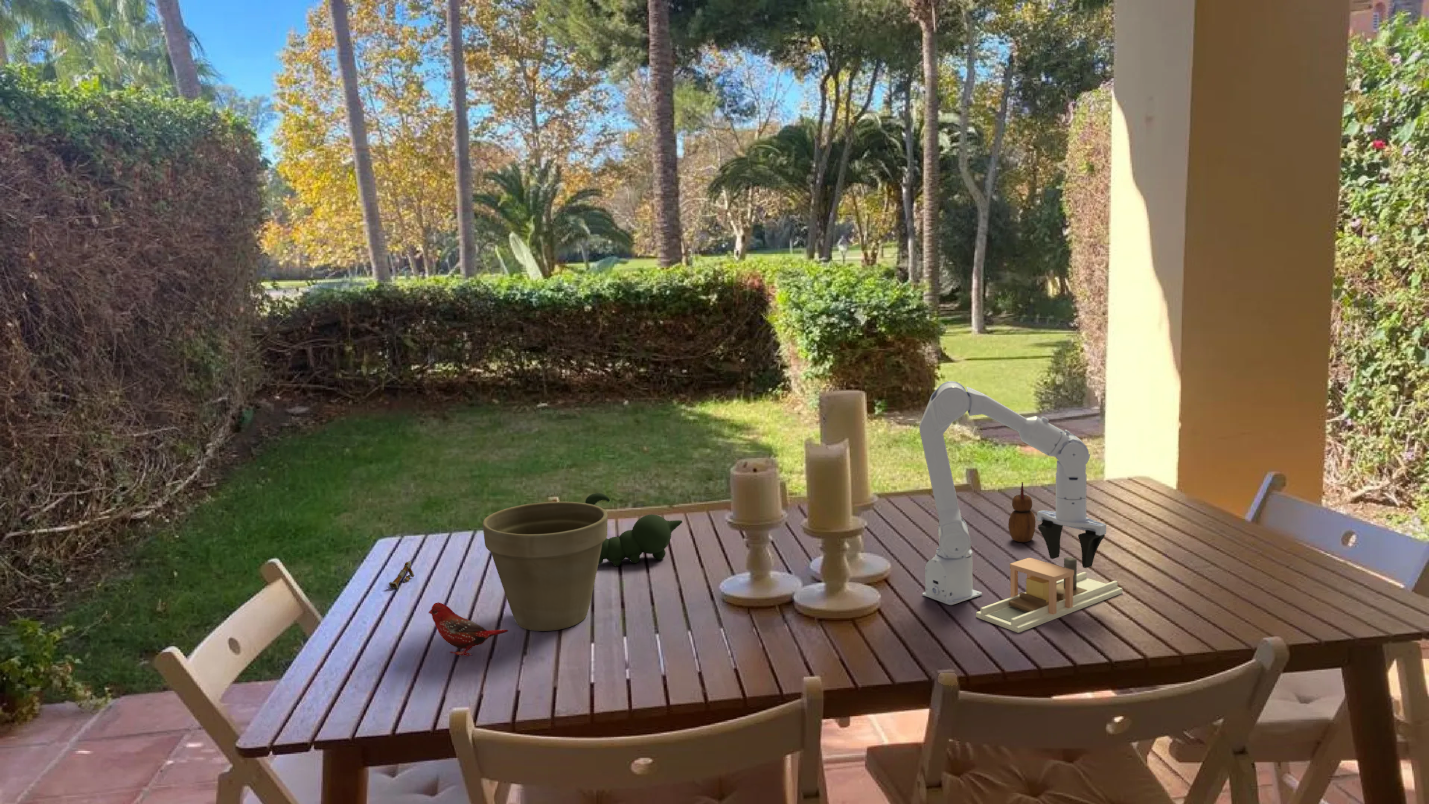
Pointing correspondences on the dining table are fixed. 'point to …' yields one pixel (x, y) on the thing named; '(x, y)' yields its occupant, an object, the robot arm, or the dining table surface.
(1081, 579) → the track
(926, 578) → the robot arm
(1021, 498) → the wooden figurine
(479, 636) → the decorative bird figurine
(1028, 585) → the block
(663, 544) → the toy figurine
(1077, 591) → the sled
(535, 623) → the plant pot
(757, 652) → the dining table surface
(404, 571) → the wooden post with brackets
